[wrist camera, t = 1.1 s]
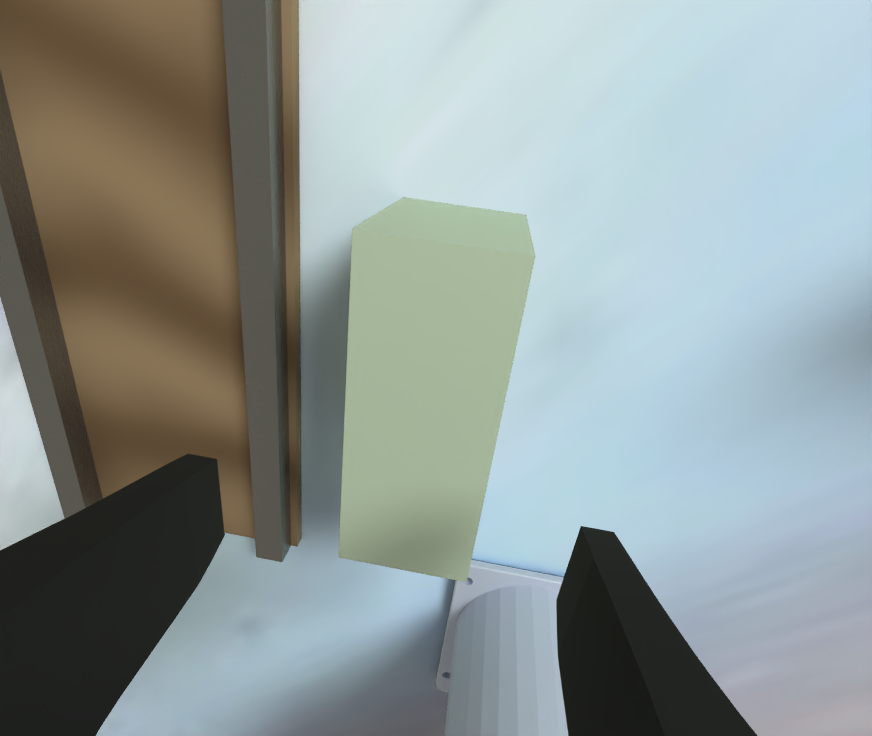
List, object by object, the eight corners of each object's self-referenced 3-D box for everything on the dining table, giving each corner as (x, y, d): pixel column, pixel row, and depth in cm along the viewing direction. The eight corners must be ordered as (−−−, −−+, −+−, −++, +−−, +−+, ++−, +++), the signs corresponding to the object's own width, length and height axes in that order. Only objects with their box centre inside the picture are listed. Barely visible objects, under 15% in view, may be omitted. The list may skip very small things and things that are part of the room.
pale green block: (477, 463, 20) (466, 582, 15) (382, 446, 20) (338, 557, 15) (526, 214, 16) (535, 256, 10) (404, 196, 16) (352, 228, 11)
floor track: (301, 538, 23) (288, 563, 22) (84, 496, 24) (58, 518, 23) (298, -49, 13) (275, -69, 12) (-69, -90, 14) (-129, -113, 13)
